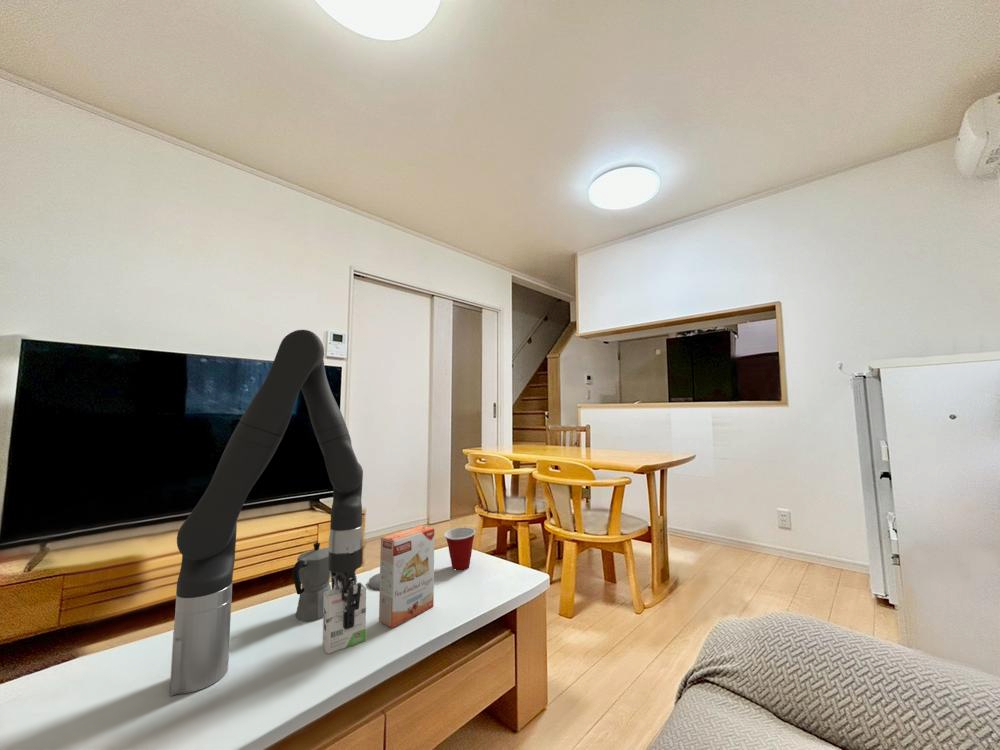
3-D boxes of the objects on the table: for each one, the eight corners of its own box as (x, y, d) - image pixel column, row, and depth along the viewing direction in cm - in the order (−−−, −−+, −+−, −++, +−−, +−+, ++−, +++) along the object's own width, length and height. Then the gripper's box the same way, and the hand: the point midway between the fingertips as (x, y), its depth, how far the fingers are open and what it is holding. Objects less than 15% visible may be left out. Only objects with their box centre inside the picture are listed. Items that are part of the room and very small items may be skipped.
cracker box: (393, 630, 94) (393, 540, 97) (378, 622, 98) (379, 536, 100) (435, 606, 105) (435, 527, 108) (420, 601, 109) (420, 524, 111)
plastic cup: (437, 569, 132) (437, 532, 133) (460, 559, 140) (460, 525, 141) (459, 576, 125) (459, 538, 126) (482, 566, 133) (482, 530, 134)
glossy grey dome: (378, 593, 114) (378, 590, 114) (363, 581, 123) (363, 577, 123) (415, 582, 122) (415, 578, 122) (398, 571, 131) (398, 567, 131)
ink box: (359, 631, 94) (360, 580, 95) (366, 641, 90) (366, 587, 91) (321, 644, 89) (323, 590, 90) (326, 655, 85) (327, 598, 86)
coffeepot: (315, 600, 111) (317, 534, 113) (345, 602, 109) (346, 536, 111) (274, 629, 96) (277, 553, 98) (308, 632, 94) (310, 555, 96)
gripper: (320, 542, 95) (318, 616, 93) (339, 558, 84) (337, 642, 82) (351, 536, 99) (350, 606, 98) (373, 550, 88) (372, 629, 87)
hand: (344, 622), depth 90 cm, fingers closed on ink box, 5 cm apart
